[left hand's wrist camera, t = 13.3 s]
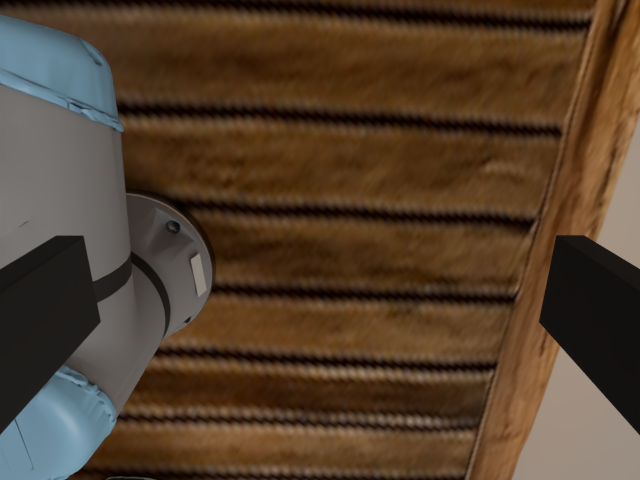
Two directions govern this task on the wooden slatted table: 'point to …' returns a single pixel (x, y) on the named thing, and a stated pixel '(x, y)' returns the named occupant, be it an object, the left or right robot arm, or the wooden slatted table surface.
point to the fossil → (128, 478)
